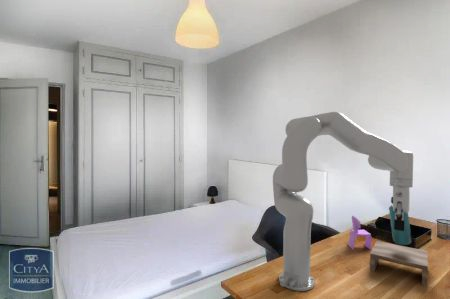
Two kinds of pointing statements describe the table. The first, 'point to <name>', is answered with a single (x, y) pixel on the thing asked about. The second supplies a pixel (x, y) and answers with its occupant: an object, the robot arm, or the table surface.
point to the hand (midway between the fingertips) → (399, 227)
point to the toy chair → (359, 234)
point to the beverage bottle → (398, 235)
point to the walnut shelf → (400, 257)
